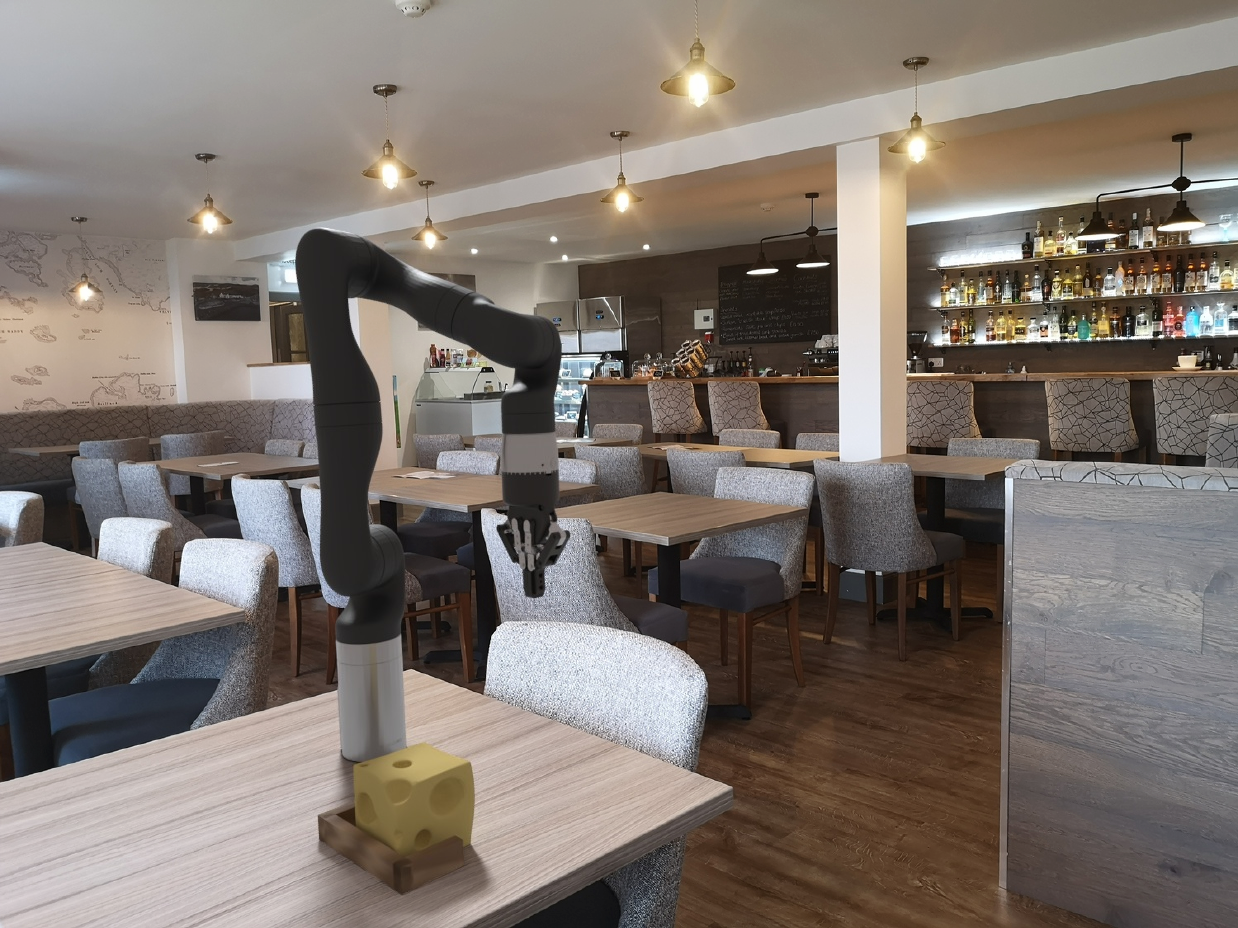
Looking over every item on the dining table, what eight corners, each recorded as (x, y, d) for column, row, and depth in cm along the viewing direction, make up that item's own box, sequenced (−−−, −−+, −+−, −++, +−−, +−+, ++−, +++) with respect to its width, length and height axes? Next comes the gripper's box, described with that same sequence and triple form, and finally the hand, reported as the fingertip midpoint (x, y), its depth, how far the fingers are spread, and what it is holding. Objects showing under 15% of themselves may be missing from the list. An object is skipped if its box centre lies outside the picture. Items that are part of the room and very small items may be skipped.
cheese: (398, 877, 101) (394, 789, 100) (352, 843, 109) (347, 761, 108) (478, 843, 108) (474, 761, 107) (429, 814, 116) (425, 736, 115)
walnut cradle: (319, 838, 110) (317, 814, 110) (378, 815, 116) (377, 792, 116) (401, 894, 98) (400, 867, 97) (464, 865, 103) (462, 839, 103)
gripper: (476, 467, 124) (481, 594, 126) (541, 472, 115) (545, 609, 116) (520, 462, 129) (524, 585, 131) (585, 467, 120) (589, 598, 122)
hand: (534, 596), depth 124 cm, fingers closed
